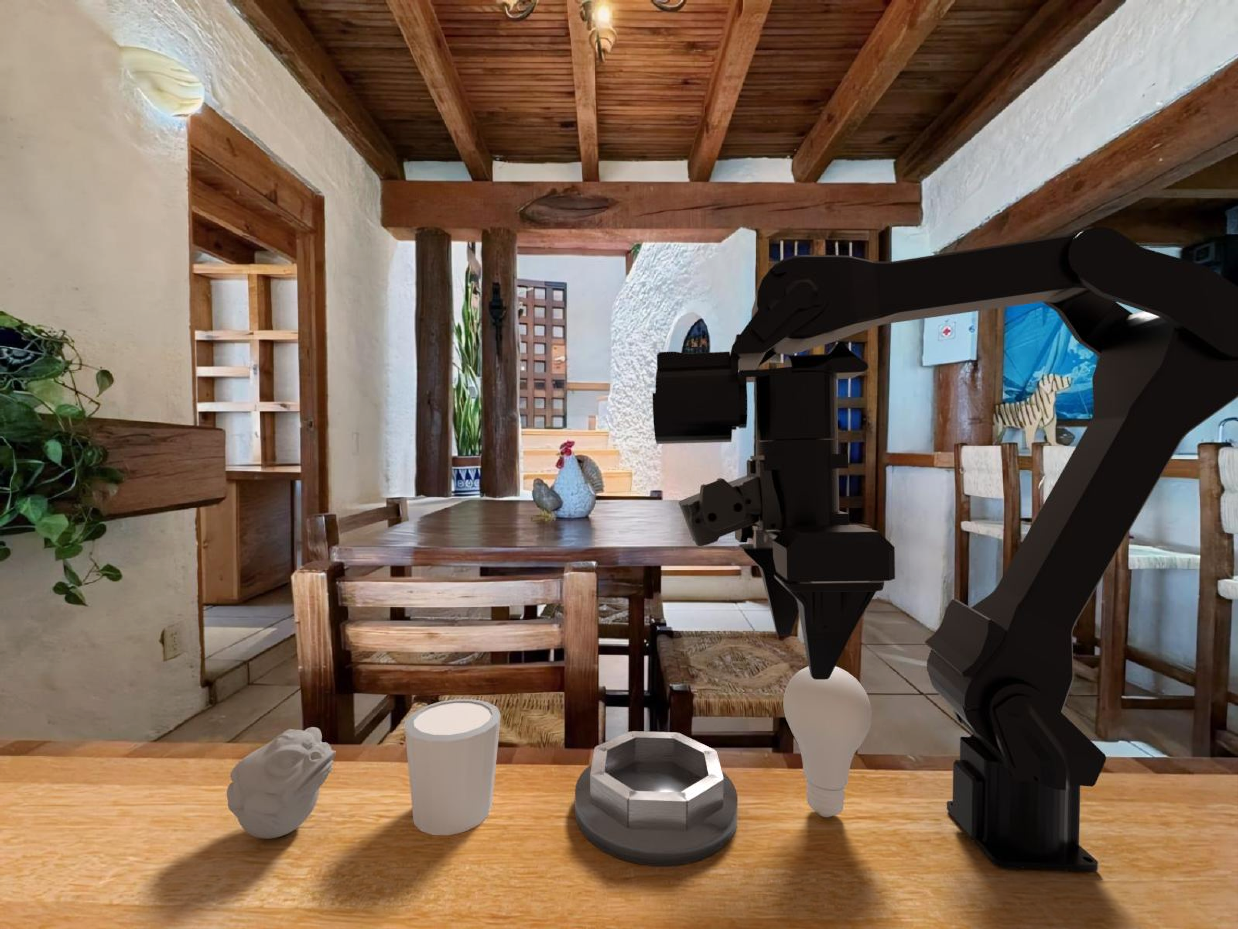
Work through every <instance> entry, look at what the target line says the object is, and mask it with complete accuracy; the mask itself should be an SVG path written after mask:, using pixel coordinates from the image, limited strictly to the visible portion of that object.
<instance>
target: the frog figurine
mask: <svg viewBox="0 0 1238 929" xmlns="http://www.w3.org/2000/svg"><path fill="white" fill-rule="evenodd" d="M322 738H323V736H322V732H321V729H320V728H318V727H314V726H311V727H307V728H306V729H304V730H302V729H292V728H289V729H287V730H284V731H283V732H282V733H281V734H278V735H277V736H276V737H275V738H274V739H273V740H271V741H269V742H268V743H267V744H265V745H262V746H261V747H260V748H258V749H255V750H254V751H252V752H251V753H249V754H248V755H246V756H244V757H243V758H242V759H241V760H239V761H238V762H237V764H236V765H235V766H234V767H233V768H232V770H231V771H230V776H229V777H230V779H231V781H232V782H231V783H230V784H228V786H227V790H226V798H227V808H228V809H229V811H230V812H231V813H232V814H233V815H234V816H235V817H236V818H237V820H238V821H237V822H238V823H239V825H240V826H241V828H242V829H243V830H244V831H245V832H246V833H248V834H249V835H250V836H253V837H256V838H259V839H264V840H266V839H270V840H272V839H276V838H280V837H283V836H285V835H287V834H289V833H291V832H293V831H295V830H296V829H297V828H298V827H300V826H301V825H302V824H303V823H304V822H305V821H306V820H307V819H308V817H309V816H310V815H311V814H312V812H313V810H314V809H315V806H316V805H317V802H318V798H319V795H320V794H319V793H320V788H321V787H322V786H323V784H325V782H326V780H327V778H328V776H329V774H330V773H331V772H332V769H333V767H332V765H333V764H334V757H335V756H336V753H337V751H336V750H333V749H332V747H331V745H330V744H329V743H328V742H326V741H325V742H322V741H323V740H322Z"/></svg>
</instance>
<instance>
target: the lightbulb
mask: <svg viewBox="0 0 1238 929" xmlns="http://www.w3.org/2000/svg"><path fill="white" fill-rule="evenodd" d="M782 702H783V705H782V706H783V712H784V717H785V720H786V722H787V724H788V726H789V728H790V731H791V733H792V735H793V736H794V739H795V740H796V743H797V745H798V748H799V752H800V756H801V761H802V774H803V776H804V778H805V780H806V782H805V785H806V787H805V788H806V801H807V804H808V807H810V809H812V810H813V811H814V812H815V813H818V815H820V816H821V817H823V818H832V816H837V815H839V814H841V813H842V811H843V810H844V805H845V803H844V802H845V794H846V793H845V790H846V788H845V787H846V786H847V785H848V783H849V775H850V768H851V764H852V762H853V758H854V756H855V755H856V752H857V750H858V749H859V748H860V746H861V745H862V744H863V742H864V741H865V739H866V737H867V736H868V733H869V731H870V728H871V724H872V717H873V716H872V714H873V712H872V707H871V702H870V699H869V696H868V694H867V692H866V690H865V689H864V687H863V686H862V684H861V683H860V681H859V680H858V679H857V678H856V677H855V676H853V675H852V674H850V672H848V671H846V670H845V669H843V668H841V667H838V666H837V665H836V666H835V668H834V670H833V672H832V674H831V676H830V678H828V679H826V680H815V679H813V678H812V677H811V675H810V670H809V665H808V666H806V667H804V668H802V669H800V670H798V671H797V672H796V673H795V674H794V675H793V676H792V677H791V679H790V680H789V682H788V683H787V684H786V688H785V690H784V695H783V698H782Z"/></svg>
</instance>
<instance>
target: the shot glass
mask: <svg viewBox="0 0 1238 929" xmlns="http://www.w3.org/2000/svg"><path fill="white" fill-rule="evenodd" d="M501 717H502V716H501V713H500V710H499V708H498V707H497V706H495V705H494V704H492V703H490V702H489V701H485V700H478V699H475V698H474V699H471V698H470V699H468V698H466V699H464V698H455V699H449V700H448V699H447V700H443V701H439V702H438V701H437V702H434V703H432V704H428V705H425V706H422V707H420V708H419V709H417V710H416V711H413V712H412V713H411V714H410V715H409V716H408V717H407V719H406V720H405V721H404V733H405V744H406V755H407V756H406V757H407V766H408V776H409V786H410V796H411V797H410V799H411V808H412V809H411V811H412V820H413V825H414V826H415V827H416V828H417V829H418V830H419V832H422V833H426V834H429V835H431V836H453V835H457V834H461V833H464V832H465V833H466V832H467V831H469V830H471V829H473V828H475V827H477V826H479V825H481V824H482V823H483V822H484V820H486V819H487V818H488V817H489V816H490V815H489V814H490V813H491V809H492V807H493V806H492V805H493V798H494V788H495V787H494V786H495V779H496V778H495V777H496V765H497V757H498V749H499V748H498V747H499V738H500V736H499V735H500V726H501Z"/></svg>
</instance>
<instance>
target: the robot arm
mask: <svg viewBox="0 0 1238 929" xmlns="http://www.w3.org/2000/svg"><path fill="white" fill-rule="evenodd" d="M1037 303H1043V304H1044V305H1046V306H1047V307H1049V308H1050V309H1052V310H1053V311H1055V312H1056V314H1058V316H1059V318H1060V319H1061V321H1062V322H1063V323H1064V325H1065V327H1066V328H1067V330H1069V332H1070V333H1071V335H1072V336H1073V338H1074V339H1075V341H1077V343H1079V344H1080V345H1081V346H1082V347H1084V348H1086V349H1087V350H1089V351H1090V352H1092V353H1093V354H1094V355H1096V356H1098V360H1097V362H1096V366H1095V369H1094V372H1093V375H1092V379H1091V380H1092V381H1091V382H1092V384H1091V385H1092V398H1093V413H1092V417H1091V419H1090V422H1089V423H1088V425H1087V427H1086V428H1085V430H1084V431H1083V434H1082V436H1081V437H1080V439H1079V440H1078V443H1077V444H1076V446H1075V448H1074V450H1073V452H1072V453H1071V455H1070V457H1069V459H1068V460H1067V462H1066V463H1065V466H1064V467H1063V469H1062V471H1061V473H1059V474H1060V475H1059V476H1058V478H1057V479H1056V481H1055V483H1054V485H1053V487H1052V489H1051V490H1050V492H1049V494H1048V495H1047V496H1046V499H1045V501H1044V503H1043V505H1042V506H1041V508H1040V510H1039V512H1038V513H1037V515H1036V517H1035V519H1034V520H1033V522H1032V524H1031V525H1030V527H1029V529H1028V531H1027V533H1026V535H1025V536H1024V538H1023V540H1022V542H1021V544H1020V545H1019V547H1018V548H1017V551H1016V552H1015V554H1014V556H1013V558H1012V559H1011V561H1010V563H1009V564H1008V567H1007V569H1006V570H1005V572H1004V574H1003V575H1002V577H1001V579H1000V581H999V583H998V584H997V586H996V588H994V590H993V591H992V592H991V593H990V594H988V595H987V596H986V597H984V598H983V599H981V600H980V601H979V602H977V603H976V604H974V605H973V606H971V607H970V606H968V605H967V604H965V603H963V602H962V601H960V600H958V599H956V598H954V599H951V600H950V602H949V603H948V605H947V607H946V609H945V611H944V615H943V618H942V621H941V623H940V625H939V627H938V628H937V630H936V631H935V632H934V633H933V634H932V635H931V636H929V637H928V638H927V639H926V640H925V641H924V644H925V645H926V646H927V647H929V648H930V649H931V650H930V652H929V655H928V658H927V660H926V671H927V673H928V677H929V681H930V682H931V683H930V684H931V685H932V688H933V689H934V690H935V692H937V694H938V695H939V697H941V699H943V700H944V702H945V703H946V704H948V706H949V707H950V708H951V709H952V711H953V713H954V716H955V719H956V720H957V721H958V722H959V723H960V724H962V725H964V726H965V728H966V729H967V730H969V732H970V733H971V735H970V736H960V737H959V759H955V760H953V763H952V766H953V767H952V800H948V801H946V809H947V810H946V811H948V812H949V814H950V815H951V816H952V817H953V818H954V820H955V821H957V823H958V824H959V826H960V827H962V829H963V830H964V831H965V832H966V833H967V835H969V837H970V838H971V839H972V840H973V842H975V844H976V845H978V847H979V848H980V850H982V852H983V853H984V854H985V855H986V856H987V857H988V859H989V860H990V861H991V862H992V863H993V864H994V865H995V866H997V867H999V868H1003V869H1020V870H1021V869H1023V870H1024V869H1025V870H1027V869H1029V870H1047V871H1048V870H1054V871H1055V870H1056V871H1076V872H1077V871H1081V872H1097V871H1098V870H1099V863H1098V860H1097V859H1095V857H1094V856H1092V854H1090V853H1089V852H1088V851H1087V850H1086V849H1085V848H1083V846H1081V845H1080V823H1081V822H1080V820H1081V817H1080V816H1081V786H1082V787H1091V788H1092V787H1094V786H1095V785H1096V783H1097V781H1098V780H1099V777H1100V775H1101V772H1102V770H1103V768H1104V766H1105V763H1106V761H1107V757H1106V754H1105V753H1104V752H1103V751H1102V750H1101V749H1100V747H1098V746H1097V745H1096V744H1095V743H1094V742H1093V741H1091V739H1090V738H1089V737H1088V736H1086V735H1085V734H1084V732H1082V730H1080V729H1079V727H1077V726H1076V725H1075V724H1074V723H1073V722H1072V721H1071V720H1070V719H1069V718H1068V717H1067V716H1066V715H1065V714H1063V711H1064V708H1065V705H1066V703H1067V700H1068V697H1069V694H1070V691H1071V688H1072V685H1073V682H1074V652H1073V651H1074V647H1073V646H1074V645H1073V632H1074V628H1075V626H1076V623H1077V622H1078V620H1079V619H1080V617H1081V615H1082V614H1083V612H1084V610H1085V609H1086V607H1087V605H1088V603H1089V601H1090V600H1091V599H1092V596H1093V594H1094V593H1095V591H1096V589H1097V588H1098V586H1099V584H1100V582H1101V580H1102V579H1103V577H1104V575H1105V573H1106V572H1107V571H1108V568H1109V566H1110V565H1111V563H1112V562H1113V560H1114V558H1115V556H1116V555H1117V553H1118V551H1119V549H1120V548H1121V546H1122V544H1123V542H1124V541H1125V539H1126V537H1127V536H1128V533H1129V532H1130V530H1131V529H1132V528H1133V525H1134V524H1135V522H1136V521H1137V518H1139V515H1140V513H1141V511H1142V510H1143V509H1144V507H1145V505H1146V503H1147V501H1148V499H1149V498H1150V496H1151V494H1152V492H1153V491H1154V489H1155V488H1156V485H1157V484H1158V482H1159V480H1160V479H1161V478H1162V475H1163V474H1164V472H1165V470H1166V468H1167V466H1168V465H1169V463H1170V461H1171V460H1172V458H1173V457H1174V455H1175V453H1176V452H1177V449H1178V448H1179V446H1180V444H1181V443H1182V441H1183V439H1184V438H1186V437H1187V435H1188V434H1189V433H1190V432H1192V431H1193V430H1194V429H1195V428H1197V427H1198V426H1200V425H1202V424H1203V423H1204V422H1206V421H1207V420H1209V419H1210V418H1211V417H1212V416H1214V415H1216V414H1217V413H1218V412H1220V411H1221V410H1222V409H1224V408H1225V407H1226V406H1228V405H1229V404H1230V403H1232V402H1234V401H1235V400H1236V399H1237V398H1238V285H1236V284H1234V283H1233V282H1232V281H1230V280H1229V279H1227V278H1225V277H1224V276H1222V275H1221V274H1219V273H1218V272H1216V271H1215V270H1213V269H1211V268H1210V267H1208V266H1206V265H1204V264H1201V263H1198V262H1194V261H1191V260H1187V259H1184V258H1181V257H1176V256H1173V255H1171V254H1170V255H1169V254H1166V253H1164V252H1163V253H1162V252H1159V251H1156V250H1153V249H1148V248H1144V247H1142V246H1140V244H1138V243H1136V242H1134V241H1133V240H1131V239H1130V238H1128V237H1127V236H1125V235H1124V234H1122V233H1121V232H1119V231H1118V230H1115V229H1112V227H1108V226H1090V227H1089V226H1088V227H1083V228H1079V229H1077V230H1076V231H1073V232H1070V233H1067V234H1060V235H1056V236H1048V237H1042V238H1036V239H1029V240H1022V241H1018V242H1017V241H1016V242H1009V243H1004V244H1003V243H1002V244H996V245H990V246H984V247H977V248H969V249H965V250H958V251H951V252H946V253H945V252H944V253H939V254H933V255H926V256H918V257H913V258H912V257H911V258H907V259H906V258H905V259H901V260H893V261H887V260H886V261H884V260H883V261H879V260H877V261H876V260H871V259H870V260H869V259H865V258H861V257H856V256H851V255H843V254H832V255H831V254H798V255H795V254H794V255H792V256H788V257H786V258H783V259H781V260H779V261H778V262H776V263H775V264H774V265H773V266H772V267H771V268H770V269H769V270H768V271H767V273H766V274H765V275H764V276H763V278H762V279H761V282H760V284H759V286H758V290H757V292H756V296H755V299H754V301H753V305H752V309H751V316H750V317H751V318H750V320H749V321H748V323H747V325H746V326H745V327H744V328H743V330H742V331H741V333H737V334H736V335H735V337H734V343H733V344H732V346H731V350H730V351H715V352H714V351H711V352H709V351H708V352H692V353H688V352H687V353H685V352H678V351H659V352H658V353H657V355H656V372H655V392H652V417H653V419H652V420H653V432H654V439H655V443H656V445H665V444H666V445H667V444H703V443H704V444H705V443H709V444H710V443H732V437H733V431H734V430H735V431H736V430H737V428H738V429H746V428H747V424H748V383H754V397H755V398H754V403H755V404H754V405H755V406H754V408H755V411H754V412H755V414H754V415H755V455H750V456H749V458H750V459H747V460H746V475H744V476H741V477H739V478H736V479H733V480H730V481H727V480H725V478H721V477H719V478H717V479H716V480H715V481H712V482H710V483H707V484H701V485H700V487H699V488H700V489H699V492H698V493H696V494H693V495H690V496H689V497H686V498H684V499H681V500H680V501H678V505H679V507H680V510H681V512H682V515H683V518H684V520H685V523H686V525H687V528H688V531H689V533H690V536H691V538H692V541H694V542H695V545H696V546H697V547H703V546H707V545H711V544H714V543H715V542H717V541H718V540H719V538H721V537H724V536H726V535H728V534H731V533H732V534H733V533H734V539H735V540H736V541H737V542H739V543H740V544H739V545H738V547H739V549H740V550H741V551H743V553H745V555H747V556H748V557H749V558H750V559H751V560H752V561H753V562H754V563H755V564H756V565H757V566H758V568H759V572H760V576H761V579H762V583H763V586H764V590H765V591H764V592H765V593H766V597H767V598H766V599H767V603H768V606H769V610H770V614H771V618H772V621H773V625H774V628H775V632H776V634H777V635H778V636H780V637H789V636H790V635H792V632H793V630H794V627H795V624H796V621H797V617H798V615H799V619H800V626H801V632H802V637H803V638H802V639H803V644H804V649H805V650H804V651H805V655H806V659H807V665H808V666H809V670H810V675H811V677H812V678H813V679H815V680H826V679H828V678H830V676H831V674H832V672H833V670H834V668H835V666H836V667H837V664H838V662H839V659H840V658H841V655H842V654H843V653H844V652H843V651H844V650H845V648H846V646H847V644H848V642H849V640H850V638H851V636H852V634H853V632H854V630H855V629H856V627H857V625H858V623H859V621H860V620H861V617H862V616H863V615H864V613H865V612H866V609H868V606H869V605H870V603H871V602H872V599H873V598H874V596H875V594H876V593H877V592H881V591H883V589H884V586H885V582H887V581H888V582H890V581H892V580H895V579H896V557H895V556H896V554H895V553H896V551H895V546H894V545H893V544H892V543H891V542H890V541H889V540H888V539H887V538H886V537H885V536H883V535H882V533H881V532H880V531H878V530H875V529H871V528H867V527H865V526H861V525H858V524H850V513H848V512H844V511H841V510H840V496H839V495H840V492H839V491H840V489H839V488H840V486H839V484H840V483H839V481H840V479H839V469H849V453H839V440H838V439H839V435H838V434H839V426H838V424H839V423H838V421H839V420H838V380H845V379H848V380H849V379H850V380H851V379H854V378H856V377H859V375H861V374H864V373H865V372H867V371H868V369H869V363H868V362H867V361H866V360H864V359H863V358H861V357H859V356H858V355H857V354H855V353H854V352H853V351H851V349H850V348H849V347H848V346H847V343H845V342H844V341H840V340H843V339H845V338H848V337H850V336H852V335H855V334H858V333H861V332H863V331H866V330H869V329H870V330H871V329H873V328H875V327H879V326H882V325H888V324H894V323H896V324H897V323H902V322H910V321H917V320H924V319H930V318H938V317H945V316H951V315H958V314H967V313H974V312H980V311H985V310H986V311H987V310H994V309H1001V308H1002V309H1003V308H1010V307H1014V306H1015V307H1017V306H1022V305H1029V304H1030V305H1031V304H1037ZM1122 305H1124V306H1126V307H1131V308H1133V309H1136V310H1139V312H1135V313H1133V312H1132V311H1130V310H1128V309H1127V308H1125V307H1124V306H1122ZM837 341H838V342H837ZM834 342H837V343H836V344H835V345H834V346H832V348H831V349H830V350H829V352H828V353H819V354H799V353H801V352H805V351H808V350H812V349H815V348H818V347H822V346H824V345H828V344H831V343H834ZM778 354H779V355H787V356H786V357H785V359H784V360H785V361H784V364H783V366H782V367H775V368H765V369H764V368H763V369H762V368H760V369H758V368H759V367H761V366H762V365H764V364H765V363H766V362H768V361H769V360H771V359H772V358H774V357H775V356H776V355H778ZM794 354H796V355H794ZM797 354H798V355H797Z"/></svg>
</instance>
